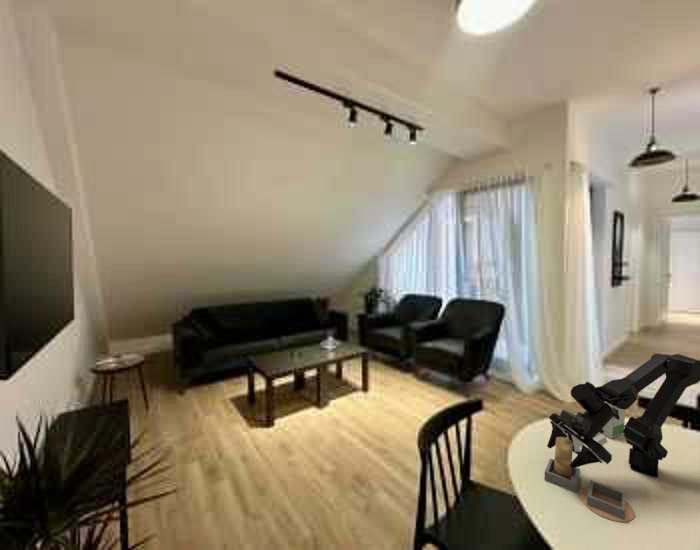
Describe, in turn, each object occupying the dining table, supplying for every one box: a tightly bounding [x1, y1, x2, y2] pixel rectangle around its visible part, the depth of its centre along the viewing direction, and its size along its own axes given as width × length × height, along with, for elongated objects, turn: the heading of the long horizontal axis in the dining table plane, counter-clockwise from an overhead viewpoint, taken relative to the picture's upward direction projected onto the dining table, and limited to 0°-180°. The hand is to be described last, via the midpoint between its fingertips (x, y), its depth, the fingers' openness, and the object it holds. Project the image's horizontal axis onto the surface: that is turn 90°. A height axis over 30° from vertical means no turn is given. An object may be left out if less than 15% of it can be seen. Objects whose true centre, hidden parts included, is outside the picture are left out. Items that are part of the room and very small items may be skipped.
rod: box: [553, 437, 574, 480], centre depth 102 cm, size 4×4×12 cm
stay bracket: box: [579, 479, 635, 523], centre depth 92 cm, size 12×12×3 cm
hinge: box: [564, 432, 608, 453], centre depth 119 cm, size 17×5×10 cm, turn 120°
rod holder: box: [544, 458, 581, 493], centre depth 103 cm, size 8×8×2 cm
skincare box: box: [602, 401, 626, 439], centre depth 125 cm, size 8×7×16 cm
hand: (559, 456), depth 102 cm, fingers open, 9 cm apart
